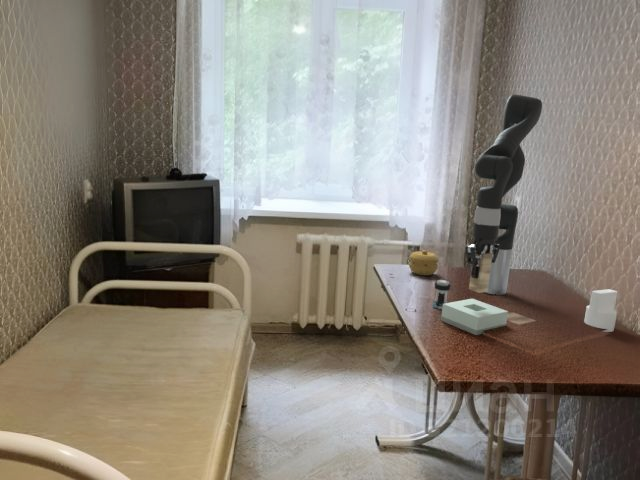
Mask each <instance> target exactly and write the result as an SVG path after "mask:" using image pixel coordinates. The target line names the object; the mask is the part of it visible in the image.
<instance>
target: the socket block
mask: <svg viewBox="0 0 640 480" xmlns="http://www.w3.org/2000/svg"><path fill="white" fill-rule="evenodd" d="M508 313H509V311H508V310H506V309H504V308H503V309H502V308H500V307H498V306H494V305H491V304H489V303H487V302H484V301H480V300H479V299H478V300H477V299H475V298H467V299H462V300H456V301H452V302H447V303H445V304H443V307H442V309H441V316H440V321H441V322H444V323H445V324H448V325H451V326H453V327H455V328H458V329H460V330H463V331H464V332H468V333H469V334H472V335H475V336H478V335H482V334H488V332H487V331H488V330H491V329H492V330H493V329H496V328H500V327H505V326H507V315H508Z"/></svg>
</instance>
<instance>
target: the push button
mask: <svg viewBox="0 0 640 480" xmlns="http://www.w3.org/2000/svg"><path fill="white" fill-rule="evenodd" d="M451 287H452V285H451V284H450V282H449V281H448V280H446V279H445V280H444V279H438V280H437V282H434V288H435V289H436V293H435V299H434V301H433V303H432V308H435V309H438V310H442V307H443V304H445V303H448V301H447V299H448V291H450V290H451Z"/></svg>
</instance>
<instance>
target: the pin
mask: <svg viewBox="0 0 640 480" xmlns="http://www.w3.org/2000/svg"><path fill="white" fill-rule="evenodd" d="M475 254H476V253H475ZM492 254H493V253H485V254H483V258H482V260H481V263H480V266H479V267H480V269H479V277H478V278H477V279H475V278H472V277H471V275H470V277H469V278H470V279H469V285H468V290H469V291H473V292H474V293H475V292H476V293H479V294H480V293H486V292H487V291H488V284H489V277H490V269H491V262H492ZM476 256H480V255H478V254H476ZM477 260H478V259H477V258H476V262H477ZM471 271H472V267H471V270H470V272H471Z"/></svg>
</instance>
